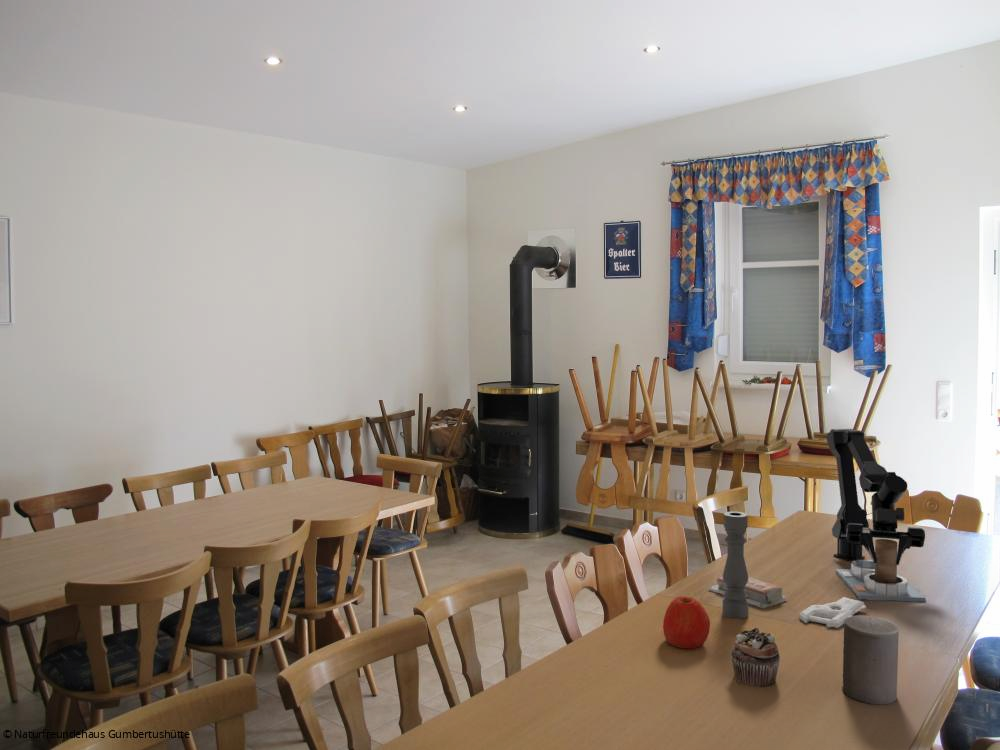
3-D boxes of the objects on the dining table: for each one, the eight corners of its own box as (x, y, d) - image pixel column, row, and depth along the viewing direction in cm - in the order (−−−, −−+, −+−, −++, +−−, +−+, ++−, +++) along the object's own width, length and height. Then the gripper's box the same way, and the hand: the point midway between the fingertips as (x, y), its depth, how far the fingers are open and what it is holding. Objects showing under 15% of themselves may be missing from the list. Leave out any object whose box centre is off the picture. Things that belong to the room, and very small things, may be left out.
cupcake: (788, 678, 163) (789, 629, 162) (764, 693, 156) (765, 643, 156) (745, 664, 170) (746, 617, 169) (721, 678, 163) (721, 630, 163)
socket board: (835, 572, 231) (835, 558, 231) (895, 574, 228) (895, 560, 228) (859, 599, 208) (859, 584, 208) (925, 601, 206) (925, 586, 206)
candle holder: (726, 608, 203) (726, 510, 202) (751, 612, 200) (751, 512, 199) (719, 616, 198) (719, 515, 196) (744, 620, 195) (745, 518, 193)
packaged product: (788, 584, 208) (763, 591, 202) (788, 602, 208) (763, 610, 203) (732, 567, 223) (707, 574, 217) (732, 584, 223) (707, 591, 217)
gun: (829, 589, 206) (868, 599, 199) (829, 602, 207) (868, 612, 199) (795, 611, 194) (836, 622, 187) (795, 625, 194) (836, 636, 187)
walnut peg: (870, 585, 214) (870, 540, 213) (884, 582, 216) (884, 538, 215) (886, 591, 209) (887, 545, 208) (901, 587, 211) (901, 542, 210)
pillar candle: (833, 693, 156) (835, 617, 155) (854, 677, 163) (856, 604, 162) (886, 710, 149) (888, 631, 148) (905, 693, 156) (907, 617, 155)
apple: (714, 639, 184) (714, 594, 183) (701, 655, 175) (701, 608, 174) (671, 631, 189) (671, 587, 188) (656, 646, 180) (656, 600, 179)
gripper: (847, 493, 218) (848, 544, 208) (925, 498, 211) (929, 551, 202) (846, 515, 226) (846, 565, 216) (920, 520, 219) (925, 572, 209)
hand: (886, 563), depth 211 cm, fingers closed on walnut peg, 5 cm apart
